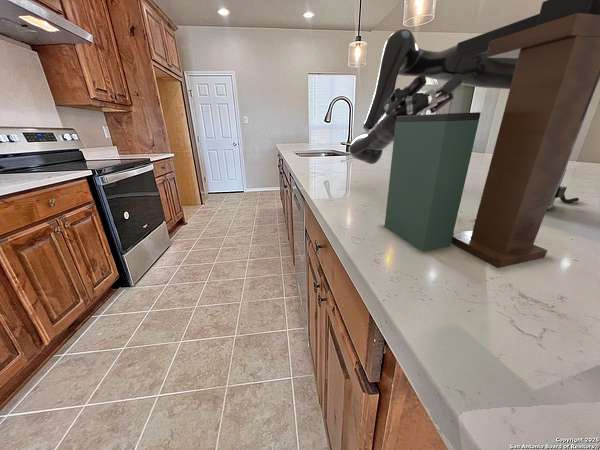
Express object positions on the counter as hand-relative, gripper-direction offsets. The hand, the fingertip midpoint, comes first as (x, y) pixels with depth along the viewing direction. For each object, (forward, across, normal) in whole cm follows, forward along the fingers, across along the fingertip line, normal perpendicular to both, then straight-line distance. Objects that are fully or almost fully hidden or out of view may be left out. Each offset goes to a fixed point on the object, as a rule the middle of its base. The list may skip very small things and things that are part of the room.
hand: (442, 77), depth 48 cm
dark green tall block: (-7, -9, +30) cm, 32 cm away
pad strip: (+12, 0, +4) cm, 13 cm away
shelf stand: (0, 0, +34) cm, 34 cm away
